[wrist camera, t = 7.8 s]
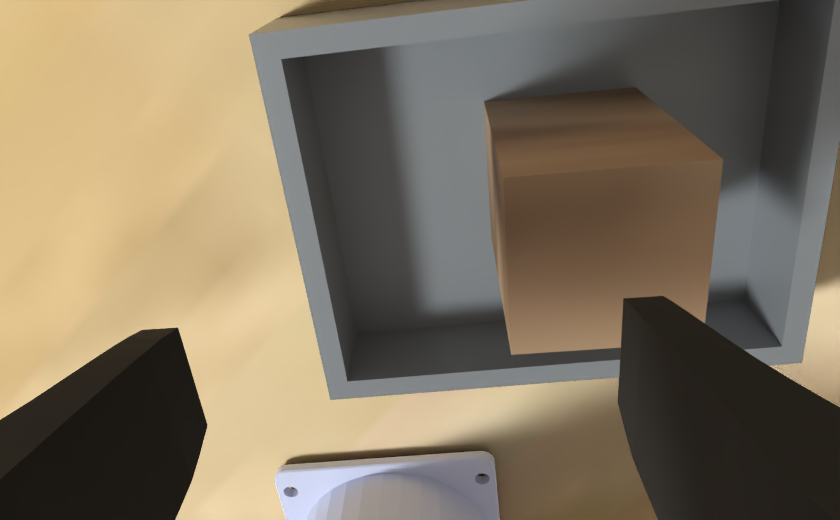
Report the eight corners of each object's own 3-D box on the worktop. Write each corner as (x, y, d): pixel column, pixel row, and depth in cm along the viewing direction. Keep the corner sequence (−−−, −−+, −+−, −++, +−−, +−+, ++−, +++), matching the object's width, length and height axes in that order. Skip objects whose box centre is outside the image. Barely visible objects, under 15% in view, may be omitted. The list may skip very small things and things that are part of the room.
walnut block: (629, 225, 19) (702, 342, 14) (491, 236, 19) (511, 355, 14) (635, 87, 17) (722, 159, 12) (483, 101, 18) (503, 177, 12)
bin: (755, 306, 21) (801, 362, 18) (343, 341, 22) (330, 399, 19) (800, -48, 16) (870, -42, 14) (278, 18, 17) (248, 34, 15)
